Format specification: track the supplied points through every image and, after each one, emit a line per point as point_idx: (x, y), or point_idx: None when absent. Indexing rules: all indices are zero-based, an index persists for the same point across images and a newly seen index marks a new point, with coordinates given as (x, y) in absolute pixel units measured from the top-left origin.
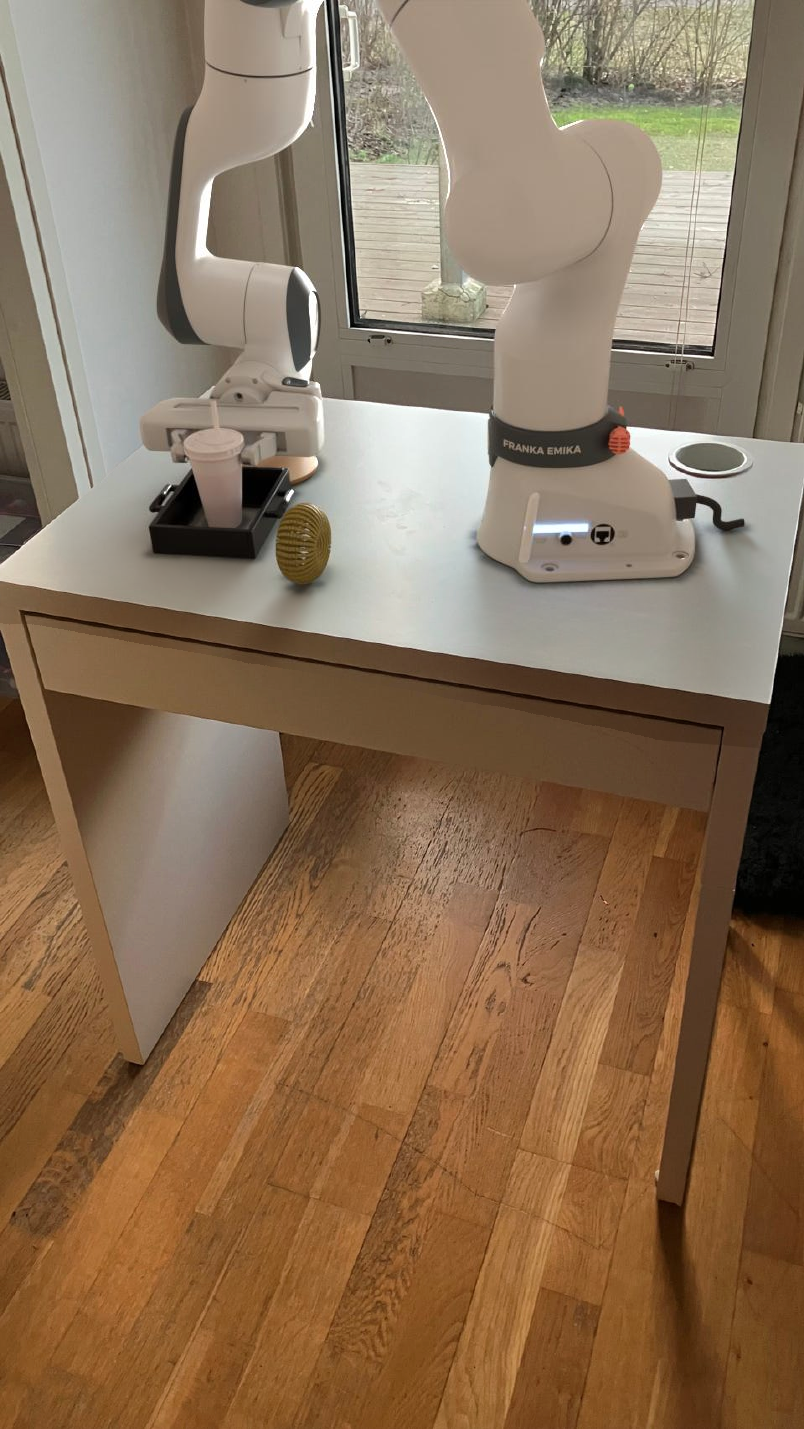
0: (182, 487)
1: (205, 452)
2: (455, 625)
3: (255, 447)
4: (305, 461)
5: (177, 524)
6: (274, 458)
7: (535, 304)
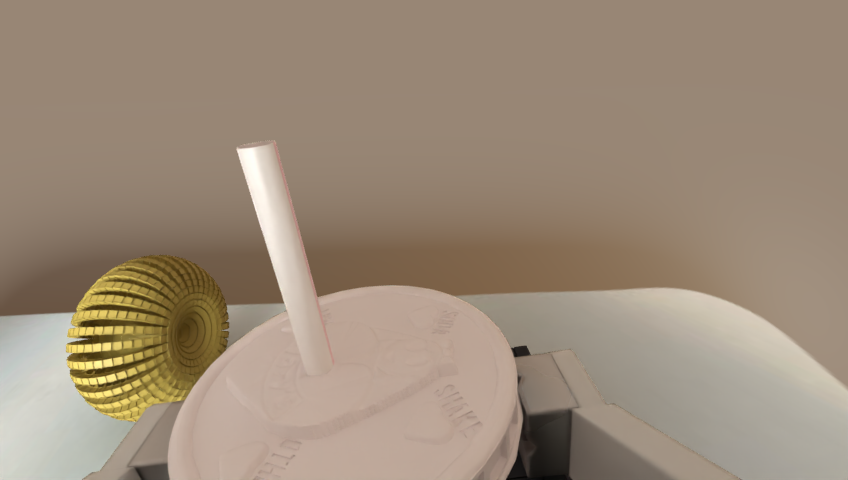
0: None
1: (360, 289)
2: (9, 350)
3: (130, 431)
4: None
5: None
6: None
7: None
